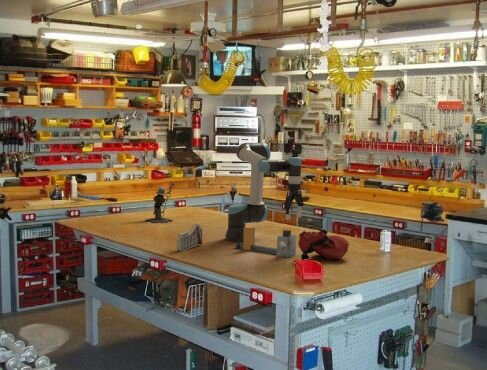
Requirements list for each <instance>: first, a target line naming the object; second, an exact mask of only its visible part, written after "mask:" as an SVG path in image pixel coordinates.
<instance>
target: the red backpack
mask: <svg viewBox="0 0 487 370" xmlns="http://www.w3.org/2000/svg"><path fill="white" fill-rule="evenodd" d="M298 236H299V240H298V244H297V245H298V248H299V250H300V251H301V252H302V254H301V256H300V259H301V260H302V261H305V260H304V259H307V260H308V259H309V258H310V256H309V254H312V253H316V254H317V255H318V256H320V257H323V258H326V259H328V260H333V259H337V260H340V259H342V258H343V257H345V255H346V254H347V252H348V250H349V246H350V244H349V243H350V242H349V241H348V240H347V239H346V238H345V237H343V236H339V235H328V230H326V229H325V228H322V227H321V228H320V229H319V231H314V230H313V231H307V230H303V231H302V232H300V233H299V234H298Z"/></svg>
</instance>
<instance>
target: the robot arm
mask: <svg viewBox="0 0 487 370" xmlns="http://www.w3.org/2000/svg"><path fill="white" fill-rule="evenodd" d="M235 154H236V157H237V158H238V159H239V161H241V162H247V163H249V164H250V166H251V167H250V186H249V187H250V188H249V189H250V190H249V200H248V201H247V203H246V204H245V203H235V204H230V205H229V206H228V210H227V231H226V232H225V236H224V237H225V238H224V239H225V240H226V241H229V242H244V227H246V224H255V223H256V224H258V223H263V222H264V221H265V220H266V219H267V217H268V207H267V206H266V205H265V202H264V201H263V197H264V196H263V193H264V178H265V177H264V176H265V174H266V173H267V174H268V173H287V175H288V177H287V179H288V181H287V182H288V183H287V189H288V190H289V191H286V197H285V201H284V205H283V209H285V220H286V221H288V220H289V221H291V206H292V204H293V201H294V200H295V203H296V204H297V206H296V217H297V218H302V213H303V212H302V211H303V210H302V208H303V207H304V205H305V203H304V197H303V194H302V189H301V188H302V187H301V185H302V184H301V182H302V158H301V157H299V156H297V157H296V156H295V157H293V156H292V157H291V156H290V157H288V159H286V158H285V159H284V158H283V159H270V158H271V149H270V146H269V145H268V144H267V143H266V142H243V143H240V144H239V145H238V147H237V148H236V150H235Z"/></svg>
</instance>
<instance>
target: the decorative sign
mask: <svg viewBox="0 0 487 370" xmlns="http://www.w3.org/2000/svg"><path fill="white" fill-rule="evenodd" d="M203 240H204V239H203V227H201V224H198V223H194V224H193V225H192V227H190V229H189V231H183V232H181V233H178V236H177V237H176V249H177V251H178V252H185V251H187V250H189V249H192V248H194V247H197V246H200V247H201V246H202V247H203V246H204V243H203Z"/></svg>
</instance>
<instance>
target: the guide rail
mask: <svg viewBox="0 0 487 370" xmlns="http://www.w3.org/2000/svg"><path fill="white" fill-rule="evenodd" d="M243 244H244V241H236V242H235V245H234V247H235V249H237V250H244V249H243ZM250 251H251V252H259V253H264V254H270V255H276V256H277V247H270V246H269V247H268V246H263V245H256V244H255V245H251V250H250Z"/></svg>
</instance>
